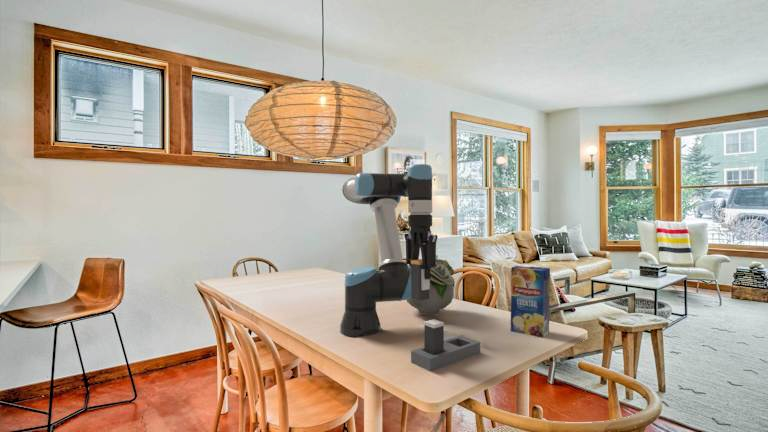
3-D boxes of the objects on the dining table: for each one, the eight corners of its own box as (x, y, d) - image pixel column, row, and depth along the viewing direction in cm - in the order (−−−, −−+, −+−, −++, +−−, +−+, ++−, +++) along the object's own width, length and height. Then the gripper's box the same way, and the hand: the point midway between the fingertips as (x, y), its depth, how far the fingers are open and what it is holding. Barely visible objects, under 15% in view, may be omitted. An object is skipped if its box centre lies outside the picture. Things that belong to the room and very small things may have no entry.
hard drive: (466, 338, 142) (438, 329, 151) (451, 343, 136) (423, 334, 145) (466, 342, 142) (438, 333, 151) (451, 348, 136) (423, 338, 145)
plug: (411, 298, 128) (410, 260, 128) (421, 296, 131) (420, 259, 131) (419, 300, 125) (419, 261, 125) (429, 298, 127) (429, 260, 127)
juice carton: (549, 332, 151) (550, 268, 150) (543, 337, 145) (544, 270, 144) (517, 326, 158) (517, 265, 158) (510, 331, 153) (511, 267, 152)
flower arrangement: (440, 325, 159) (440, 263, 158) (388, 314, 174) (389, 258, 173) (468, 311, 179) (468, 256, 178) (419, 303, 194) (420, 252, 193)
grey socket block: (411, 365, 120) (411, 350, 120) (460, 349, 134) (460, 335, 134) (430, 374, 114) (430, 358, 114) (480, 356, 128) (480, 342, 128)
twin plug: (424, 361, 121) (424, 321, 120) (433, 358, 123) (434, 319, 123) (433, 366, 118) (434, 325, 117) (443, 362, 120) (444, 322, 120)
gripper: (394, 214, 132) (394, 285, 133) (429, 214, 118) (429, 294, 119) (412, 213, 137) (412, 283, 137) (448, 213, 123) (448, 291, 123)
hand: (420, 288), depth 128 cm, fingers closed on plug, 4 cm apart
